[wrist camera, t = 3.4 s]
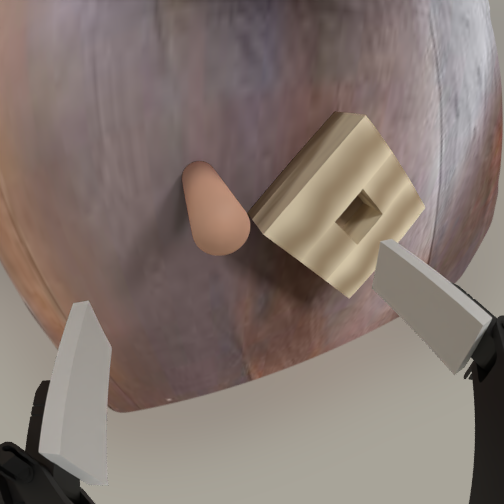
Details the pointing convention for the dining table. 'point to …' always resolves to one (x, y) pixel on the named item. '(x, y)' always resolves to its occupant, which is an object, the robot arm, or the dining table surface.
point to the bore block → (339, 202)
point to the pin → (213, 211)
